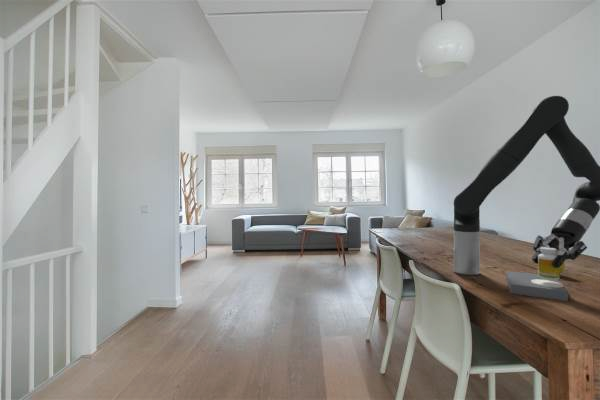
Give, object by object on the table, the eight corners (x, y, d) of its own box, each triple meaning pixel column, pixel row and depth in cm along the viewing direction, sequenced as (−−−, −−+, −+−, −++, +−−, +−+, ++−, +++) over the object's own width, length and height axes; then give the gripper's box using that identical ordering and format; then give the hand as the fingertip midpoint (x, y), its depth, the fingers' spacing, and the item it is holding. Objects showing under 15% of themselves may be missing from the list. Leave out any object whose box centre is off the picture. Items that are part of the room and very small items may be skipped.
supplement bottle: (561, 281, 90) (561, 250, 90) (539, 278, 93) (539, 249, 93) (557, 276, 95) (557, 247, 95) (536, 274, 98) (536, 246, 97)
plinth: (510, 293, 94) (510, 283, 94) (505, 278, 109) (505, 270, 109) (568, 301, 87) (568, 290, 87) (554, 284, 102) (554, 275, 102)
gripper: (543, 216, 102) (516, 252, 100) (592, 220, 88) (563, 261, 86) (554, 230, 104) (528, 266, 101) (604, 236, 90) (576, 277, 87)
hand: (544, 263), depth 93 cm, fingers closed on supplement bottle, 5 cm apart
